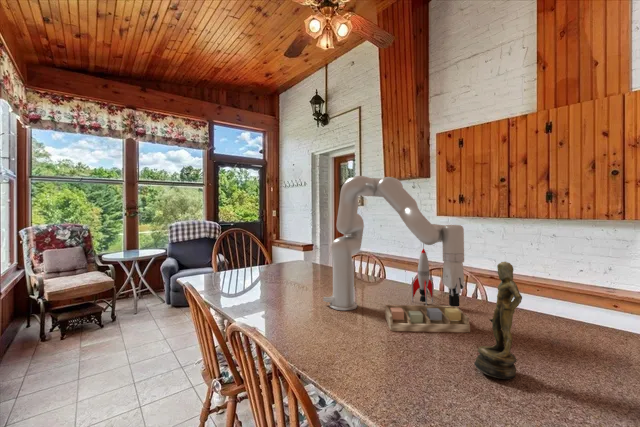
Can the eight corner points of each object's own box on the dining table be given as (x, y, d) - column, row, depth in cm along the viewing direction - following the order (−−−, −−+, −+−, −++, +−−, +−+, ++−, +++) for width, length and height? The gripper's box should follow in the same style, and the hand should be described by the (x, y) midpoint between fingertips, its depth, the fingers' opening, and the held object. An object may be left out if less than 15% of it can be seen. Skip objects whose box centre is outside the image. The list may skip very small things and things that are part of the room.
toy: (432, 302, 145) (432, 238, 145) (437, 308, 137) (437, 240, 136) (411, 301, 146) (411, 238, 146) (415, 307, 138) (415, 240, 137)
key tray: (390, 330, 112) (390, 317, 112) (385, 317, 126) (385, 304, 126) (470, 332, 110) (470, 318, 110) (455, 318, 124) (455, 305, 124)
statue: (466, 365, 87) (467, 260, 87) (503, 363, 88) (504, 259, 88) (491, 387, 77) (491, 267, 76) (533, 385, 78) (533, 266, 77)
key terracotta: (392, 319, 117) (392, 311, 117) (390, 315, 121) (390, 307, 121) (403, 319, 116) (403, 311, 116) (401, 315, 121) (401, 307, 121)
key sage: (410, 322, 116) (410, 314, 116) (408, 318, 121) (408, 310, 121) (422, 322, 116) (422, 314, 116) (419, 318, 120) (419, 310, 120)
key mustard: (449, 320, 115) (449, 312, 115) (445, 316, 120) (445, 308, 120) (461, 320, 115) (461, 312, 115) (456, 316, 119) (456, 308, 119)
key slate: (429, 319, 116) (429, 311, 116) (426, 315, 120) (426, 308, 120) (441, 320, 115) (441, 312, 115) (438, 315, 120) (438, 308, 120)
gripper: (437, 254, 124) (438, 299, 125) (450, 260, 110) (451, 312, 110) (456, 254, 124) (457, 299, 124) (471, 260, 109) (472, 312, 109)
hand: (454, 305), depth 117 cm, fingers closed
